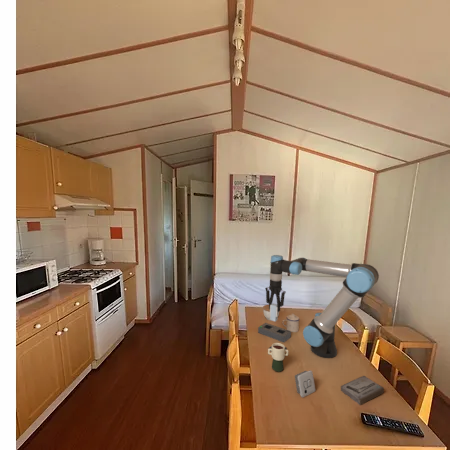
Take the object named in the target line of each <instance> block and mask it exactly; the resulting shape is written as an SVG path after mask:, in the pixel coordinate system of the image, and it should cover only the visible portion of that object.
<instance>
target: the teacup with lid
mask: <svg viewBox="0 0 450 450" xmlns="http://www.w3.org/2000/svg"><path fill="white" fill-rule="evenodd" d="M285 321H286V324H284V322H285ZM282 325H283V327H286V328H285V329H286V330H289V331H291V333H297V332H299V330H300V328H299V327H300V317H299V316H298V315H295V313H291V314H288V315H286V318H285V319H282Z"/></svg>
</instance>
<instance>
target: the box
mask: <svg viewBox="0 0 450 450" xmlns="http://www.w3.org/2000/svg"><path fill="white" fill-rule="evenodd" d="M340 391H341V392H342V393H344V395H346V396H347V397H348V398H350V399H351V400H352V401H354V402H355V403H357V405H359V406H362V405H363V404H366V403H367V402H368V401H371V400H373V399H375V398H377V397H378V396H380V395H382V394H384V393H385V388H384V386H382V385H380V384H379V383H377V382H375V381H373V380H372V379H370V378H368V377H367V376H365V375H362V376H359V377H357V378H355V379H353V380H351V381H348V382H347V383H345V384H341V385H340Z"/></svg>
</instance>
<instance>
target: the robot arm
mask: <svg viewBox="0 0 450 450" xmlns="http://www.w3.org/2000/svg"><path fill="white" fill-rule="evenodd" d="M269 264H270V267H269V268H270V271H269V272H270V273H269V286H267V287H265V296H266V297H265V299H266V300H265V302H266V304H267V305H269V309H270V315H271V305H272V304H273V300H274V296H275V297H276V304H277V307H276V317H278V318H279V316H280V312H281V308H282V307H283V306H284V304H285V297H286V296H285V294H286V293H287V292H286V291H285V290H283V288H282V283H283V281H282V280H283V273H286V274H290V275H294V276H296V275H297V276H298V275H300V274H301V273H302V271H303V272H311V273H317V274H324V275H330V276H336V277H341V278H344V279H343V281H342V285H343V286H342V288H340V289H339V291H338V292H337V293H336V295H335V296H334V297H333V299H332V300H331V301H330V302H329V304H328V305H326V307H325V308H324V310H323V311H322V312H316V313H315V314H314V317H313V319H312V320H311V321H310V323H308V325H307V326H305V327H304V328H303V331H302V336H303V339H304V341H306V343H307V344H308V345H310V351H311V353H313V354H314V355H316V356H318V357H320V358H324V359H325V358H326V359H330V358H331V359H333V358H335V357H336V356H337V355H338V349H337V346H336V342H335V334H336V333H335V332H336V324H337V323H338V322H339V320H340V319H342V317H343V316H344V315H345V314H346V312H348V310H349V309H350V308H351V307H352V305H353V304H355V303H356V301H357V300H358V299H361V298H362V299H363V298H364V297H365V296H366V295H367V294H368V292H370V291H371V289H372V288H373V286H375V285H376V283H378V281H379V278H380V275H379V272H378V270H377V268H376V267H374V266H373V265H371V264H367V263H356V262H355V263H354V262H352V263H351V264H349V263H343V262H342V263H341V262H335V261H334V262H333V261H325V260H317V259H309V258H308V259H307V258H305V257H298V258H296V259H293V260H286V259H284V256H282V255H280V254H272V255H271V257H270V263H269ZM280 293H281V294H280Z"/></svg>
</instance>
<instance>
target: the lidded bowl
mask: <svg viewBox="0 0 450 450" xmlns="http://www.w3.org/2000/svg"><path fill="white" fill-rule="evenodd" d="M262 309H263V312H262V313H263V315H264V317H265V318H266V320H268V321H271V320H270V316H271V315H270V309H269V304H265V305H263V306H262Z"/></svg>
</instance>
